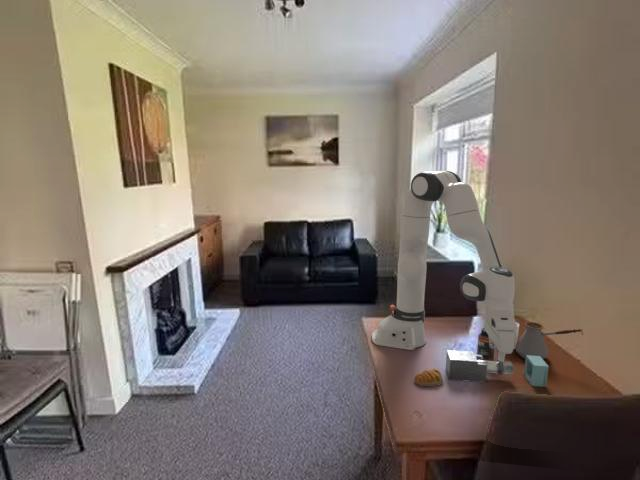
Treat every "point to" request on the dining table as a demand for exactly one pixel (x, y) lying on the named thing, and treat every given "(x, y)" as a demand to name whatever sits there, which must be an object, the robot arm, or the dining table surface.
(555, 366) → the dining table surface
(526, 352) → the coffee pot
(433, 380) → the pastry
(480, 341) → the supplement bottle
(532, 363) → the socket
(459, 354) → the sleeve
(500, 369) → the tube
